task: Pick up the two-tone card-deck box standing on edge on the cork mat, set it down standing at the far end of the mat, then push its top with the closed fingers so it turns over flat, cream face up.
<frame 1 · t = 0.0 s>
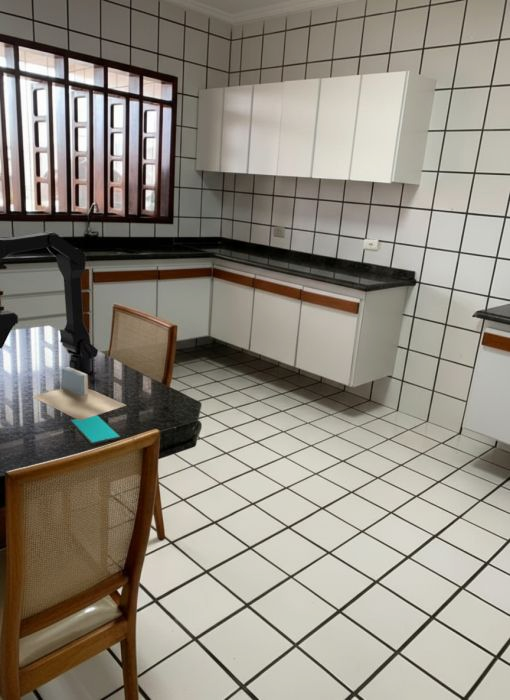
smartphone: (94, 431, 132), on the table
mat: (79, 402, 148), on the table
deck: (74, 390, 154), resting on mat
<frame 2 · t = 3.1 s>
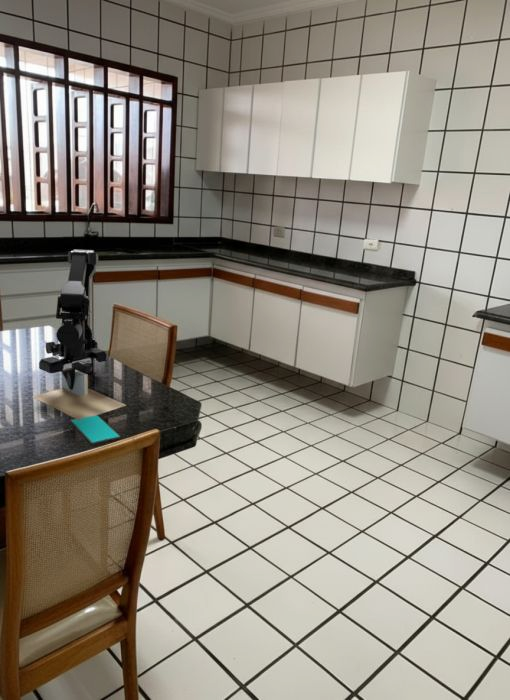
hand: (74, 388, 154), 1 cm above the table, fingers closed on deck, 2 cm apart
deck: (74, 390, 154), resting on mat, touching gripper
everything else where it was.
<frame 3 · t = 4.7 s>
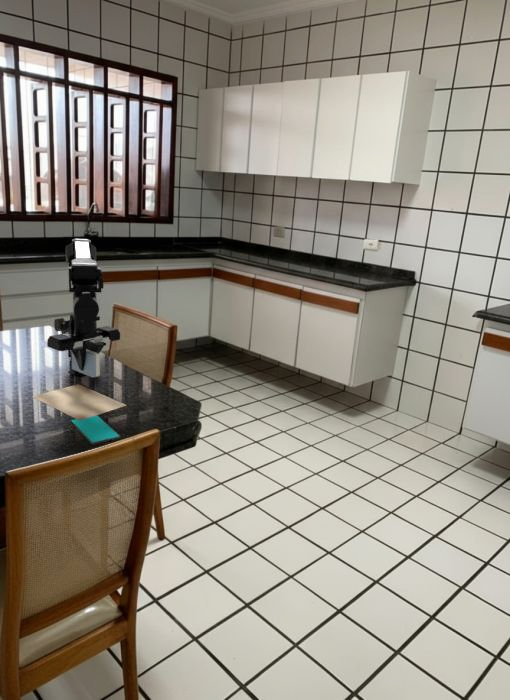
hand: (85, 369, 142), 11 cm above the table, fingers closed on deck, 2 cm apart
deck: (85, 372, 142), point 10 cm above the table, touching gripper
everything else where it was.
when the fingers open (2 cm above the table, at t = 6.4 s): deck stays where it is, resting on mat.
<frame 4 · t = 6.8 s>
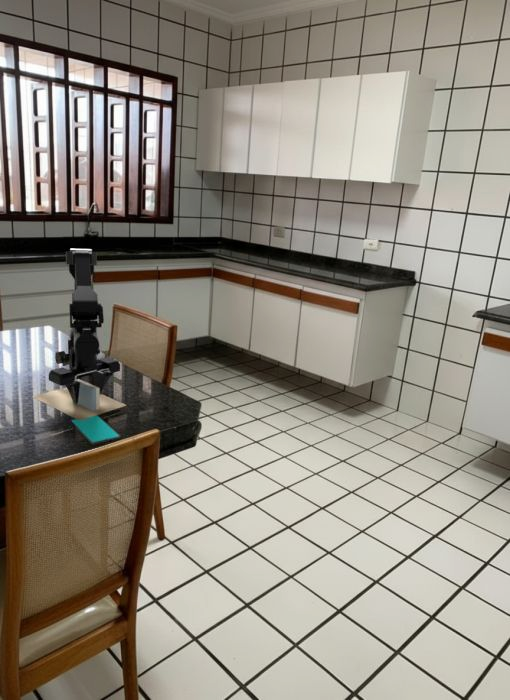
hand: (86, 400, 145), 2 cm above the table, fingers open, 6 cm apart
deck: (85, 405, 145), resting on mat
everything else where it was.
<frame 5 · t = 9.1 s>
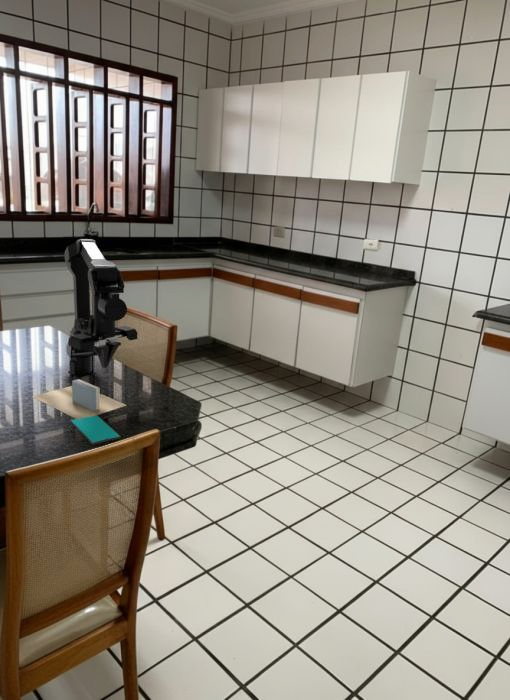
hand: (104, 367, 147), 10 cm above the table, fingers closed
nothing on the table moved.
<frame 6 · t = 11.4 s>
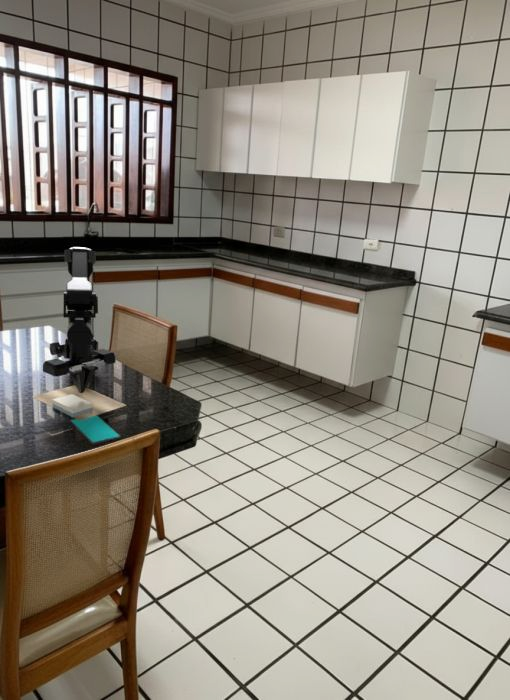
hand: (81, 392, 143), 5 cm above the table, fingers closed
deck: (82, 402, 144), point 1 cm above the table, tilted 90°, touching mat
everything else where it was.
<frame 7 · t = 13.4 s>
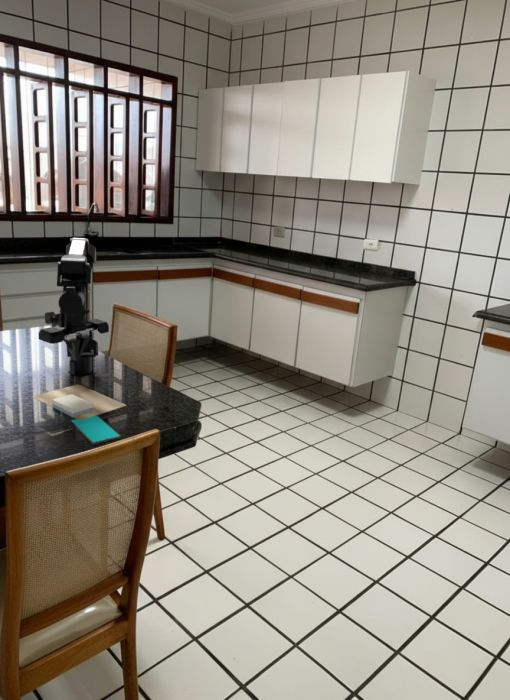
hand: (75, 360, 148), 11 cm above the table, fingers closed
nothing on the table moved.
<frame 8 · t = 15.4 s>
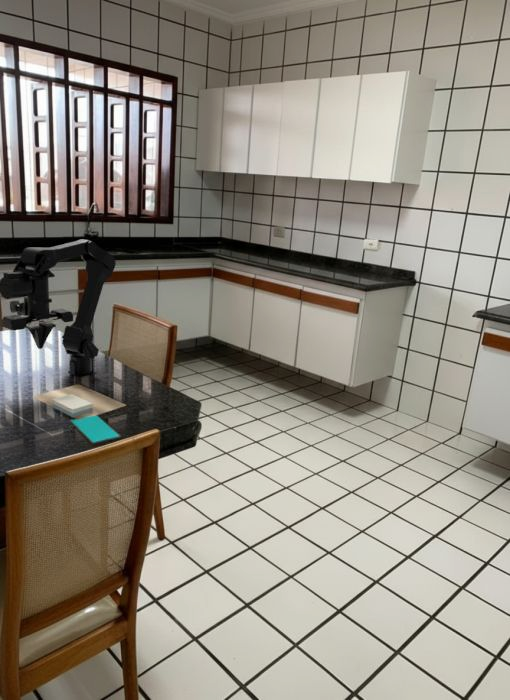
hand: (39, 348, 152), 12 cm above the table, fingers closed
nothing on the table moved.
at the end: deck tilted 90°; deck inside the target area (2.4 cm from its centre), point 1.5 cm above the table; the gripper is holding nothing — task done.
